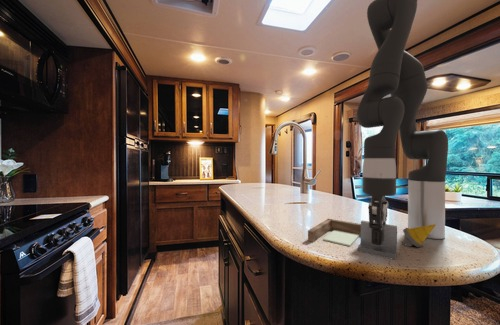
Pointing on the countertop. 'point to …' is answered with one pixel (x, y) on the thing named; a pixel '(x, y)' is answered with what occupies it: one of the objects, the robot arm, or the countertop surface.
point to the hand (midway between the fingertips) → (378, 241)
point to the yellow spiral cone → (417, 235)
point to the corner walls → (332, 224)
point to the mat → (341, 237)
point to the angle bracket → (388, 241)
